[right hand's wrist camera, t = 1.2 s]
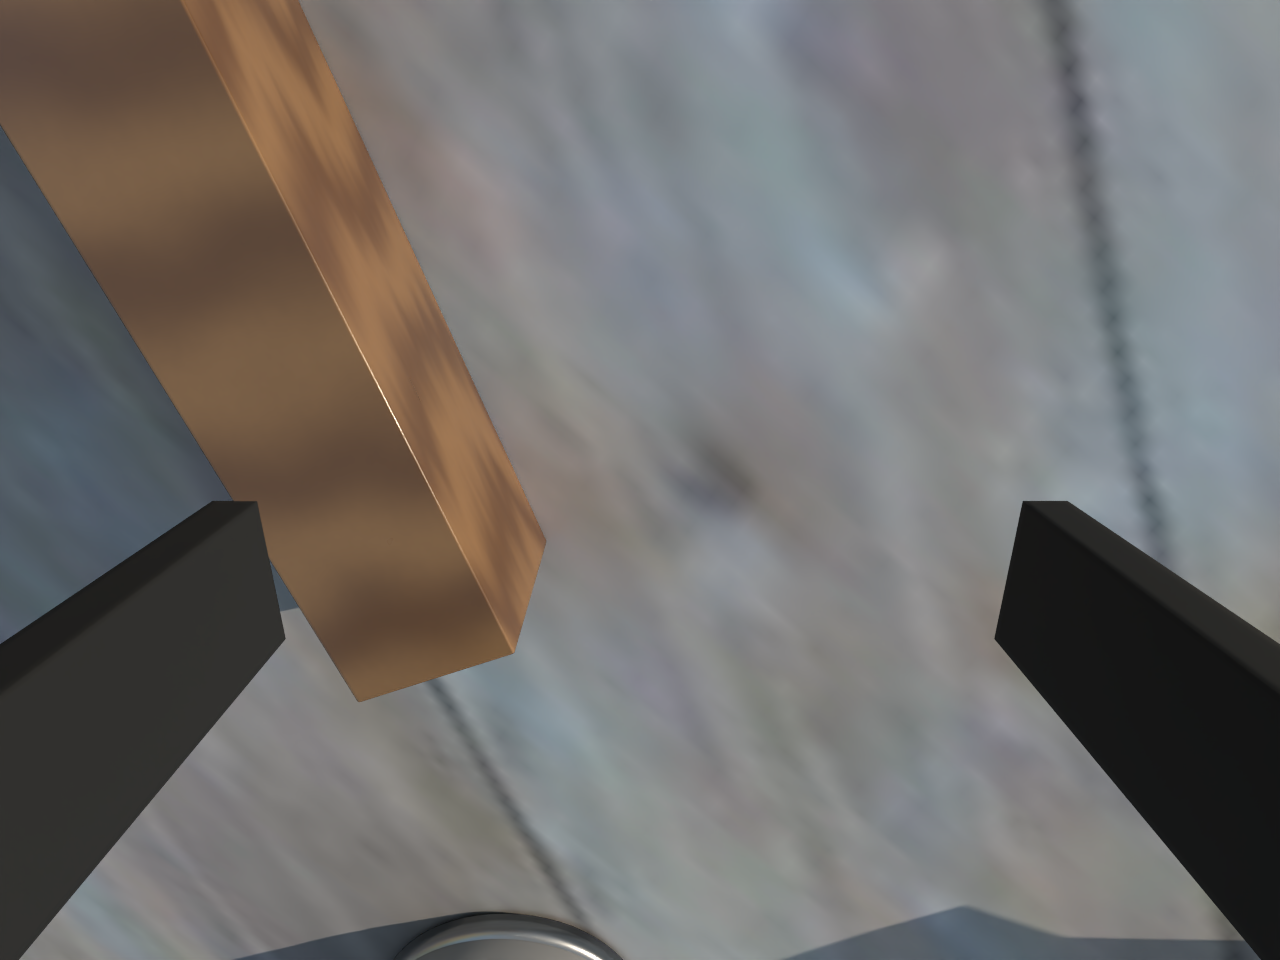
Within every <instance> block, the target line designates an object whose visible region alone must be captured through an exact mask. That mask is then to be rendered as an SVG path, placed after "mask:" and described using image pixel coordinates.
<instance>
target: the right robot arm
mask: <svg viewBox="0 0 1280 960" xmlns="http://www.w3.org/2000/svg"><path fill="white" fill-rule="evenodd" d="M285 639H286V638H285V634H284V629H283V624H282V619H281V614H280V609H279V605H278V600H277V595H276V590H275V585H274V580H273V576H272V571H271V566H270V561H269V556H268V551H267V546H266V542H265V537H264V532H263V527H262V522H261V517H260V513H259V508H258V503H257V501H212V502H210V503H209V504H207V505H206V506H204V507H203V508H201V509H200V510H198V511H197V512H196V513H194V514H193V515H191V516H190V517H188V518H187V519H185V520H184V521H182V522H181V523H179V524H178V525H176V526H175V527H173V528H172V529H170V530H169V531H167V532H166V533H164V534H163V535H161V536H160V537H158V538H157V539H156V540H154V541H153V542H151V543H150V544H148V545H147V546H145V547H144V548H142V549H141V550H139V551H138V552H136V553H135V554H133V555H132V556H130V557H129V558H127V559H126V560H124V561H123V562H121V563H120V564H118V565H117V566H115V567H114V568H113V569H111V570H110V571H108V572H107V573H105V574H104V575H102V576H101V577H99V578H98V579H96V580H95V581H93V582H92V583H90V584H89V585H87V586H86V587H84V588H83V589H81V590H80V591H78V592H77V593H75V594H74V595H73V596H71V597H70V598H68V599H67V600H65V601H64V602H62V603H61V604H59V605H58V606H56V607H55V608H53V609H52V610H50V611H49V612H47V613H46V614H44V615H43V616H41V617H40V618H38V619H37V620H35V621H34V622H32V623H31V624H30V625H28V626H27V627H25V628H24V629H22V630H21V631H19V632H18V633H16V634H15V635H13V636H12V637H10V638H9V639H7V640H6V641H4V642H3V643H1V644H0V960H19V959H20V958H21V956H22V955H23V954H24V953H25V952H26V950H27V949H28V948H29V947H30V946H31V944H32V943H33V942H34V941H35V940H36V938H37V937H38V936H39V935H40V934H41V932H42V931H43V930H44V929H45V928H46V926H47V925H48V924H49V923H50V922H51V920H52V919H53V918H54V917H55V916H56V914H57V913H58V912H59V911H60V910H61V908H62V907H63V906H64V905H65V903H66V902H67V901H68V900H69V899H70V897H71V896H72V895H73V894H74V893H75V891H76V890H77V889H78V888H79V887H80V885H81V884H82V883H83V882H84V881H85V879H86V878H87V877H88V876H89V875H90V873H91V872H92V871H93V870H94V869H95V867H96V866H97V865H98V864H99V863H100V861H101V860H102V859H103V858H104V857H105V855H106V854H107V853H108V852H109V851H110V849H111V848H112V847H113V846H114V845H115V843H116V842H117V841H118V840H119V839H120V837H121V836H122V835H123V834H124V833H125V831H126V830H127V829H128V828H129V827H130V825H131V824H132V823H133V822H134V821H135V819H136V818H137V817H138V816H139V814H140V813H141V812H142V811H143V810H144V808H145V807H146V806H147V805H148V804H149V802H150V801H151V800H152V799H153V798H154V796H155V795H156V794H157V793H158V792H159V790H160V789H161V788H162V787H163V786H164V784H165V783H166V782H167V781H168V780H169V778H170V777H171V776H172V775H173V774H174V772H175V771H176V770H177V769H178V768H179V766H180V765H181V764H182V763H183V762H184V760H185V759H186V758H187V757H188V756H189V754H190V753H191V752H192V751H193V750H194V748H195V747H196V746H197V745H198V744H199V742H200V741H201V740H202V739H203V738H204V736H205V735H206V734H207V733H208V732H209V730H210V729H211V728H212V727H213V725H214V724H215V723H216V722H217V721H218V719H219V718H220V717H221V716H222V715H223V713H224V712H225V711H226V710H227V709H228V707H229V706H230V705H231V704H232V703H233V701H234V700H235V699H236V698H237V697H238V695H239V694H240V693H241V692H242V691H243V689H244V688H245V687H246V686H247V685H248V683H249V682H250V681H251V680H252V679H253V677H254V676H255V675H256V674H257V673H258V671H259V670H260V669H261V668H262V667H263V665H264V664H265V663H266V662H267V661H268V659H269V658H270V657H271V656H272V655H273V653H274V652H275V651H276V650H277V649H278V647H279V646H280V645H281V644H282V643H283V641H284V640H285ZM994 639H995V640H996V641H997V643H998V644H999V645H1000V646H1001V647H1002V649H1003V650H1004V651H1005V652H1006V653H1007V655H1008V656H1009V657H1010V658H1011V659H1012V661H1013V662H1014V663H1015V664H1016V665H1017V667H1018V668H1019V669H1020V670H1021V671H1022V673H1023V674H1024V675H1025V676H1026V677H1027V679H1028V680H1029V681H1030V682H1031V683H1032V685H1033V686H1034V687H1035V688H1036V689H1037V691H1038V692H1039V693H1040V694H1041V695H1042V697H1043V698H1044V699H1045V700H1046V701H1047V703H1048V704H1049V705H1050V706H1051V707H1052V709H1053V710H1054V711H1055V712H1056V713H1057V715H1058V716H1059V717H1060V718H1061V719H1062V721H1063V722H1064V723H1065V724H1066V725H1067V727H1068V728H1069V729H1070V730H1071V732H1072V733H1073V734H1074V735H1075V736H1076V738H1077V739H1078V740H1079V741H1080V742H1081V744H1082V745H1083V746H1084V747H1085V748H1086V750H1087V751H1088V752H1089V753H1090V754H1091V756H1092V757H1093V758H1094V759H1095V760H1096V762H1097V763H1098V764H1099V765H1100V766H1101V768H1102V769H1103V770H1104V771H1105V772H1106V774H1107V775H1108V776H1109V777H1110V778H1111V780H1112V781H1113V782H1114V783H1115V784H1116V786H1117V787H1118V788H1119V789H1120V790H1121V792H1122V793H1123V794H1124V795H1125V796H1126V798H1127V799H1128V800H1129V801H1130V802H1131V804H1132V805H1133V806H1134V807H1135V808H1136V810H1137V811H1138V812H1139V813H1140V814H1141V816H1142V817H1143V818H1144V819H1145V821H1146V822H1147V823H1148V824H1149V825H1150V827H1151V828H1152V829H1153V830H1154V831H1155V833H1156V834H1157V835H1158V836H1159V837H1160V839H1161V840H1162V841H1163V842H1164V843H1165V845H1166V846H1167V847H1168V848H1169V849H1170V851H1171V852H1172V853H1173V854H1174V855H1175V857H1176V858H1177V859H1178V860H1179V861H1180V863H1181V864H1182V865H1183V866H1184V867H1185V869H1186V870H1187V871H1188V872H1189V873H1190V875H1191V876H1192V877H1193V878H1194V879H1195V881H1196V882H1197V883H1198V884H1199V885H1200V887H1201V888H1202V889H1203V890H1204V891H1205V893H1206V894H1207V895H1208V896H1209V897H1210V899H1211V900H1212V901H1213V902H1214V903H1215V905H1216V906H1217V907H1218V908H1219V910H1220V911H1221V912H1222V913H1223V914H1224V916H1225V917H1226V918H1227V919H1228V920H1229V922H1230V923H1231V924H1232V925H1233V926H1234V928H1235V929H1236V930H1237V931H1238V932H1239V934H1240V935H1241V936H1242V937H1243V938H1244V940H1245V941H1246V942H1247V943H1248V944H1249V946H1250V947H1251V948H1252V949H1253V950H1254V952H1255V953H1256V954H1257V955H1258V956H1259V958H1260V959H1261V960H1280V644H1279V643H1277V642H1276V641H1274V640H1273V639H1271V638H1270V637H1268V636H1267V635H1265V634H1264V633H1262V632H1261V631H1259V630H1258V629H1256V628H1255V627H1253V626H1252V625H1250V624H1249V623H1248V622H1246V621H1245V620H1243V619H1242V618H1240V617H1239V616H1237V615H1236V614H1234V613H1233V612H1231V611H1230V610H1228V609H1227V608H1225V607H1224V606H1222V605H1221V604H1219V603H1218V602H1216V601H1215V600H1213V599H1212V598H1210V597H1209V596H1207V595H1206V594H1205V593H1203V592H1202V591H1200V590H1199V589H1197V588H1196V587H1194V586H1193V585H1191V584H1190V583H1188V582H1187V581H1185V580H1184V579H1182V578H1181V577H1179V576H1178V575H1176V574H1175V573H1173V572H1172V571H1170V570H1169V569H1167V568H1166V567H1165V566H1163V565H1162V564H1160V563H1159V562H1157V561H1156V560H1154V559H1153V558H1151V557H1150V556H1148V555H1147V554H1145V553H1144V552H1142V551H1141V550H1139V549H1138V548H1136V547H1135V546H1133V545H1132V544H1130V543H1129V542H1127V541H1126V540H1124V539H1123V538H1122V537H1120V536H1119V535H1117V534H1116V533H1114V532H1113V531H1111V530H1110V529H1108V528H1107V527H1105V526H1104V525H1102V524H1101V523H1099V522H1098V521H1096V520H1095V519H1093V518H1092V517H1090V516H1089V515H1087V514H1086V513H1084V512H1083V511H1082V510H1080V509H1079V508H1077V507H1076V506H1074V505H1073V504H1071V503H1070V502H1068V501H1023V503H1022V508H1021V513H1020V517H1019V522H1018V527H1017V532H1016V537H1015V542H1014V546H1013V551H1012V556H1011V561H1010V566H1009V571H1008V575H1007V580H1006V585H1005V590H1004V595H1003V600H1002V605H1001V609H1000V614H999V619H998V624H997V629H996V634H995V638H994ZM394 960H623V959H622V958H621V957H620V956H619V955H618V954H617V953H616V952H615V951H613V950H612V949H611V948H610V947H608V946H607V945H606V944H605V943H603V942H602V941H600V940H598V939H597V938H595V937H594V936H592V935H590V934H588V933H586V932H584V931H582V930H580V929H577V928H575V927H573V926H570V925H567V924H564V923H561V922H558V921H554V920H551V919H547V918H542V917H536V916H530V915H521V914H487V915H477V916H472V917H466V918H462V919H458V920H454V921H451V922H448V923H445V924H442V925H440V926H437V927H435V928H433V929H431V930H429V931H427V932H425V933H423V934H422V935H420V936H418V937H417V938H416V939H414V940H413V941H411V942H410V943H409V944H408V945H407V946H406V947H404V948H403V949H402V951H401V952H400V953H399V954H398V955H397V956H396V958H395V959H394Z"/></svg>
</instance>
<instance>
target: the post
mask: <svg viewBox="0 0 1280 960" xmlns="http://www.w3.org/2000/svg"><path fill="white" fill-rule="evenodd" d="M0 125H1V127H2V129H3V130H4V132H5V134H6V135H7V137H8V138H9V140H10V142H11V143H12V145H13V146H14V148H15V150H16V151H17V153H18V154H19V156H20V158H21V159H22V161H23V163H24V164H25V166H26V167H27V169H28V171H29V172H30V174H31V175H32V177H33V179H34V180H35V182H36V184H37V185H38V187H39V188H40V190H41V192H42V193H43V195H44V196H45V198H46V200H47V201H48V203H49V205H50V206H51V208H52V209H53V211H54V213H55V214H56V216H57V217H58V219H59V221H60V222H61V224H62V225H63V227H64V229H65V230H66V232H67V234H68V235H69V237H70V238H71V240H72V242H73V243H74V245H75V246H76V248H77V250H78V251H79V253H80V255H81V256H82V258H83V259H84V261H85V263H86V264H87V266H88V267H89V269H90V271H91V272H92V274H93V275H94V277H95V279H96V280H97V282H98V284H99V285H100V287H101V288H102V290H103V292H104V293H105V295H106V296H107V298H108V300H109V301H110V303H111V305H112V306H113V308H114V309H115V311H116V313H117V314H118V316H119V317H120V319H121V321H122V322H123V324H124V325H125V327H126V329H127V330H128V332H129V334H130V335H131V337H132V338H133V340H134V342H135V343H136V345H137V346H138V348H139V350H140V351H141V353H142V355H143V356H144V358H145V359H146V361H147V363H148V364H149V366H150V367H151V369H152V371H153V372H154V374H155V375H156V377H157V379H158V380H159V382H160V384H161V385H162V387H163V388H164V390H165V392H166V393H167V395H168V396H169V398H170V400H171V401H172V403H173V405H174V406H175V408H176V409H177V411H178V413H179V414H180V416H181V417H182V419H183V421H184V422H185V424H186V425H187V427H188V429H189V430H190V432H191V434H192V435H193V437H194V438H195V440H196V442H197V443H198V445H199V446H200V448H201V450H202V451H203V453H204V455H205V456H206V458H207V459H208V461H209V463H210V464H211V466H212V467H213V469H214V471H215V472H216V474H217V475H218V477H219V479H220V480H221V482H222V484H223V485H224V487H225V488H226V490H227V492H228V493H229V495H230V496H231V498H232V500H233V501H257V503H258V508H259V513H260V517H261V522H262V527H263V532H264V537H265V542H266V546H267V551H268V556H269V559H270V561H271V563H272V564H273V566H274V567H275V569H276V571H277V572H278V574H279V575H280V577H281V579H282V580H283V582H284V584H285V585H286V587H287V588H288V590H289V592H290V593H291V595H292V596H293V598H294V600H295V601H296V603H297V605H298V606H299V608H300V609H301V611H302V613H303V614H304V616H305V617H306V619H307V621H308V622H309V624H310V625H311V627H312V629H313V630H314V632H315V634H316V635H317V637H318V638H319V640H320V642H321V643H322V645H323V646H324V648H325V650H326V651H327V653H328V655H329V656H330V658H331V659H332V661H333V663H334V664H335V666H336V667H337V669H338V671H339V672H340V674H341V675H342V677H343V679H344V680H345V682H346V684H347V685H348V687H349V688H350V690H351V692H352V693H353V695H354V696H355V698H356V700H357V701H358V702H362V701H365V700H368V699H371V698H374V697H377V696H381V695H384V694H387V693H390V692H393V691H396V690H400V689H403V688H406V687H409V686H412V685H415V684H419V683H422V682H425V681H428V680H431V679H434V678H438V677H441V676H444V675H447V674H450V673H453V672H457V671H460V670H463V669H466V668H469V667H472V666H475V665H479V664H482V663H485V662H488V661H491V660H494V659H498V658H501V657H504V656H507V655H510V654H513V653H514V652H515V649H516V645H517V642H518V638H519V635H520V632H521V628H522V625H523V621H524V618H525V614H526V611H527V607H528V604H529V600H530V597H531V593H532V590H533V586H534V583H535V579H536V576H537V573H538V569H539V566H540V562H541V559H542V555H543V552H544V548H545V545H546V540H545V537H544V535H543V533H542V531H541V529H540V527H539V524H538V522H537V520H536V518H535V516H534V513H533V511H532V509H531V507H530V505H529V503H528V500H527V498H526V496H525V494H524V492H523V489H522V487H521V485H520V483H519V481H518V479H517V476H516V474H515V472H514V470H513V468H512V465H511V463H510V461H509V459H508V457H507V455H506V452H505V450H504V448H503V446H502V444H501V442H500V439H499V437H498V435H497V433H496V431H495V428H494V426H493V424H492V422H491V420H490V418H489V415H488V413H487V411H486V409H485V407H484V404H483V402H482V400H481V398H480V396H479V394H478V391H477V389H476V387H475V385H474V383H473V381H472V378H471V376H470V374H469V372H468V370H467V367H466V365H465V363H464V361H463V359H462V357H461V354H460V352H459V350H458V348H457V346H456V343H455V341H454V339H453V337H452V335H451V333H450V330H449V328H448V326H447V324H446V322H445V320H444V317H443V315H442V313H441V311H440V309H439V306H438V304H437V302H436V300H435V298H434V296H433V293H432V291H431V289H430V287H429V285H428V282H427V280H426V278H425V276H424V274H423V272H422V269H421V267H420V265H419V263H418V261H417V258H416V256H415V254H414V252H413V250H412V248H411V245H410V243H409V241H408V239H407V237H406V235H405V232H404V230H403V228H402V226H401V224H400V221H399V219H398V217H397V215H396V213H395V211H394V208H393V206H392V204H391V202H390V200H389V197H388V195H387V193H386V191H385V189H384V187H383V184H382V182H381V180H380V178H379V176H378V174H377V171H376V169H375V167H374V165H373V163H372V160H371V158H370V156H369V154H368V152H367V150H366V147H365V145H364V143H363V141H362V139H361V136H360V134H359V132H358V130H357V128H356V126H355V123H354V121H353V119H352V117H351V115H350V113H349V110H348V108H347V106H346V104H345V102H344V99H343V97H342V95H341V93H340V91H339V89H338V86H337V84H336V82H335V80H334V78H333V75H332V73H331V71H330V69H329V67H328V65H327V62H326V60H325V58H324V56H323V54H322V52H321V49H320V47H319V45H318V43H317V41H316V38H315V36H314V34H313V32H312V30H311V28H310V25H309V23H308V21H307V19H306V17H305V14H304V12H303V10H302V8H301V6H300V4H299V1H298V0H0Z"/></svg>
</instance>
